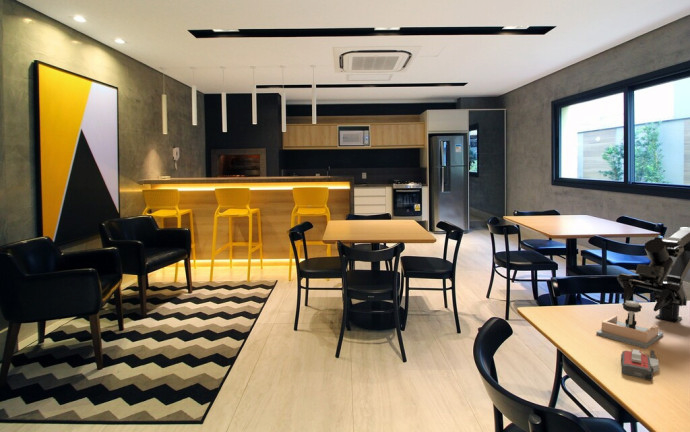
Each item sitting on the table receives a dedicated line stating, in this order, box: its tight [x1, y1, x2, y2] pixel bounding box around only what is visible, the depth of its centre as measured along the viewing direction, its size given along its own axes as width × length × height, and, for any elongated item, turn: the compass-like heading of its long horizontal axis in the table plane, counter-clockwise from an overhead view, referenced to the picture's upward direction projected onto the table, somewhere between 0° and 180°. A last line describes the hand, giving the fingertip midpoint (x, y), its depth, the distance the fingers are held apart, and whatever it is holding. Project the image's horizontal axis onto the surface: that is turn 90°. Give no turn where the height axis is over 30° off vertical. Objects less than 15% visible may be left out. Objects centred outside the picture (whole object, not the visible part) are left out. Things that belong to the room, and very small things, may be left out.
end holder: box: [595, 314, 664, 349], centre depth 140 cm, size 16×14×4 cm
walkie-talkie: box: [620, 348, 660, 381], centre depth 120 cm, size 9×4×20 cm
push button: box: [622, 300, 643, 329], centre depth 140 cm, size 7×5×10 cm
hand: (639, 306), depth 142 cm, fingers open, 9 cm apart
